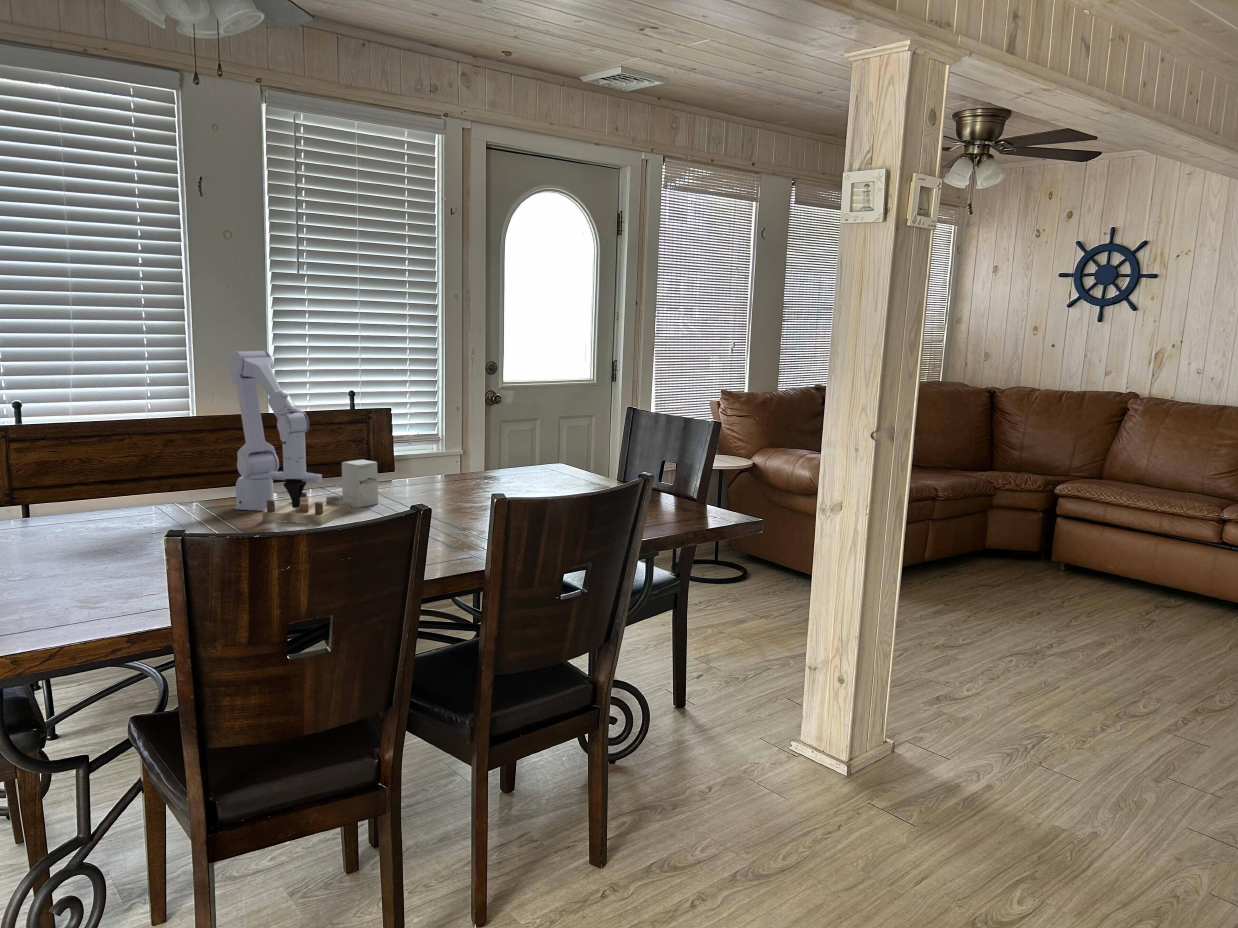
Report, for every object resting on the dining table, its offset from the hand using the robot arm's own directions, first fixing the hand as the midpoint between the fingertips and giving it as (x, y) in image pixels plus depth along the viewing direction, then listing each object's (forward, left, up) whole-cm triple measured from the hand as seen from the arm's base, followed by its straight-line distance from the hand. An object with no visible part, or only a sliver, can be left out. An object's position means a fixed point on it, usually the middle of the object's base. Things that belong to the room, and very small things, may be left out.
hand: (296, 507), depth 244 cm
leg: (+1, +2, -1) cm, 3 cm away
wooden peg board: (+1, +4, -3) cm, 5 cm away
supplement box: (+9, +21, -4) cm, 23 cm away
